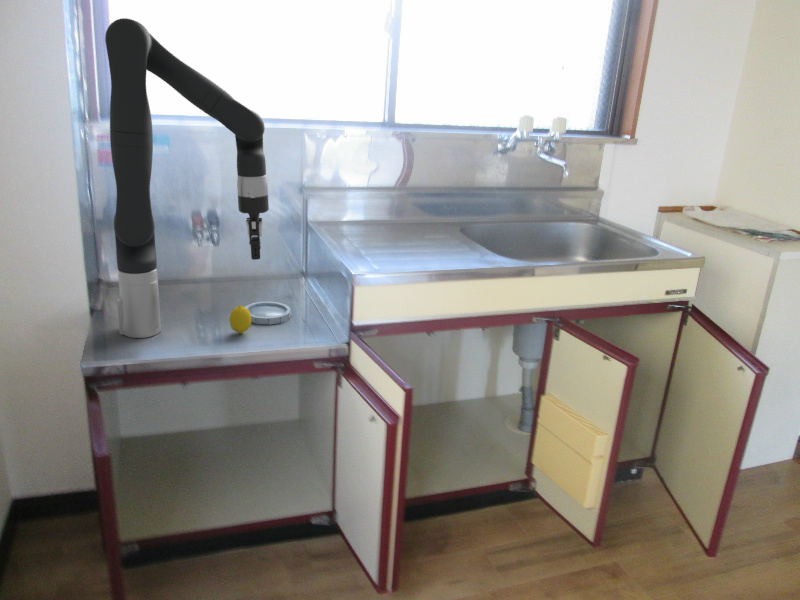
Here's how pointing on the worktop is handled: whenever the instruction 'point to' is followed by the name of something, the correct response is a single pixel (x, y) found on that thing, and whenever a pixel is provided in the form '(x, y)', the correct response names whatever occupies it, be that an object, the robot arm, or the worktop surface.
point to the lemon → (240, 319)
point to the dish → (268, 312)
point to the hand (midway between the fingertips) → (256, 254)
